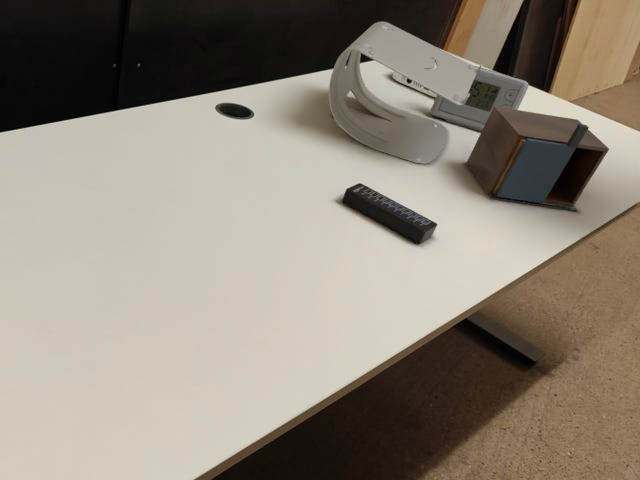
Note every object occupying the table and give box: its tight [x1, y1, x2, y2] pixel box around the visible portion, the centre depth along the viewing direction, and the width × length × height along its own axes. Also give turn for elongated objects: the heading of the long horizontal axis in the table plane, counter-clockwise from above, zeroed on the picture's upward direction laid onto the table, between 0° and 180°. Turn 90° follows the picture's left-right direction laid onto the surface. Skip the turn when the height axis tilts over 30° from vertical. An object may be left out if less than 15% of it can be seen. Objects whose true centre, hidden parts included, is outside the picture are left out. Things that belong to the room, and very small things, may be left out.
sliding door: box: [496, 123, 590, 203], centre depth 112 cm, size 1×8×14 cm, turn 89°
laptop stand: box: [328, 21, 483, 165], centre depth 128 cm, size 26×24×16 cm
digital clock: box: [430, 65, 529, 133], centre depth 139 cm, size 16×9×11 cm, turn 54°
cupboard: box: [466, 106, 610, 213], centre depth 119 cm, size 14×16×11 cm
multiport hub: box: [341, 182, 438, 245], centre depth 105 cm, size 4×14×2 cm, turn 44°
